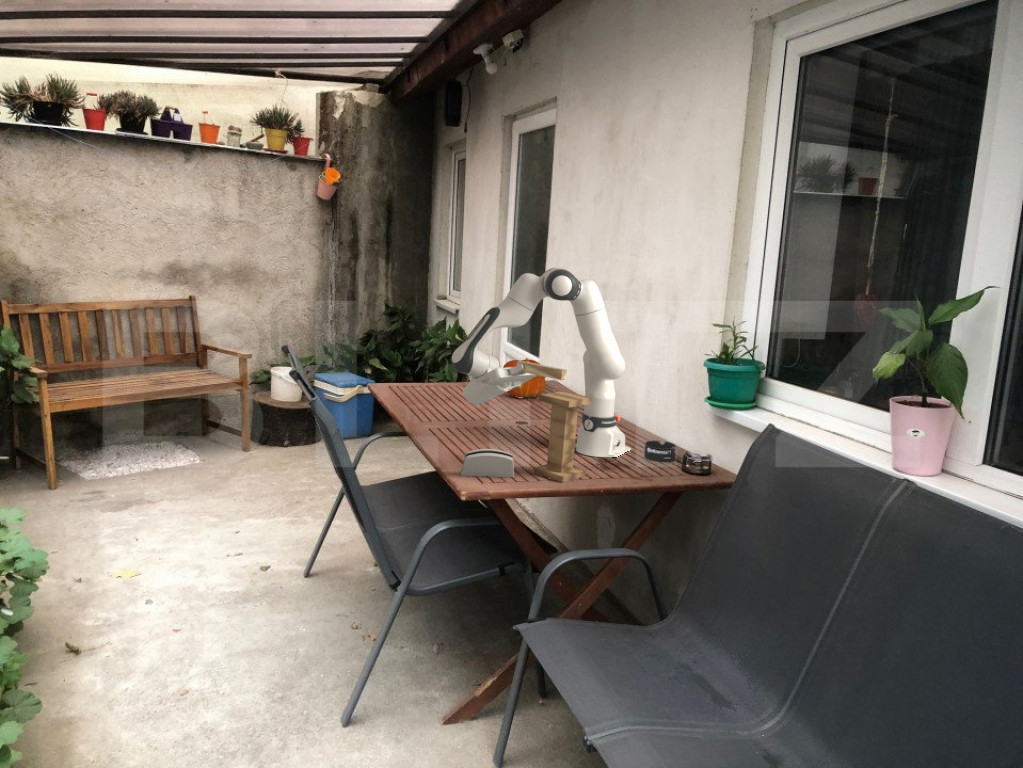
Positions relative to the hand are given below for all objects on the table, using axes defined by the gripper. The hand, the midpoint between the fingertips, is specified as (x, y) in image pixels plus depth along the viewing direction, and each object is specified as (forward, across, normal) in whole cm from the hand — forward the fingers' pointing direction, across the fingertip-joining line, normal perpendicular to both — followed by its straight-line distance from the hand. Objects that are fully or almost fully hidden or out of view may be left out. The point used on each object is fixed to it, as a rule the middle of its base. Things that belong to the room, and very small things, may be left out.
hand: (527, 366), depth 240 cm
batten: (+4, 0, +5) cm, 6 cm away
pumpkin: (-85, +92, -11) cm, 126 cm away
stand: (-2, 0, +37) cm, 37 cm away
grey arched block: (-14, -20, +31) cm, 39 cm away
